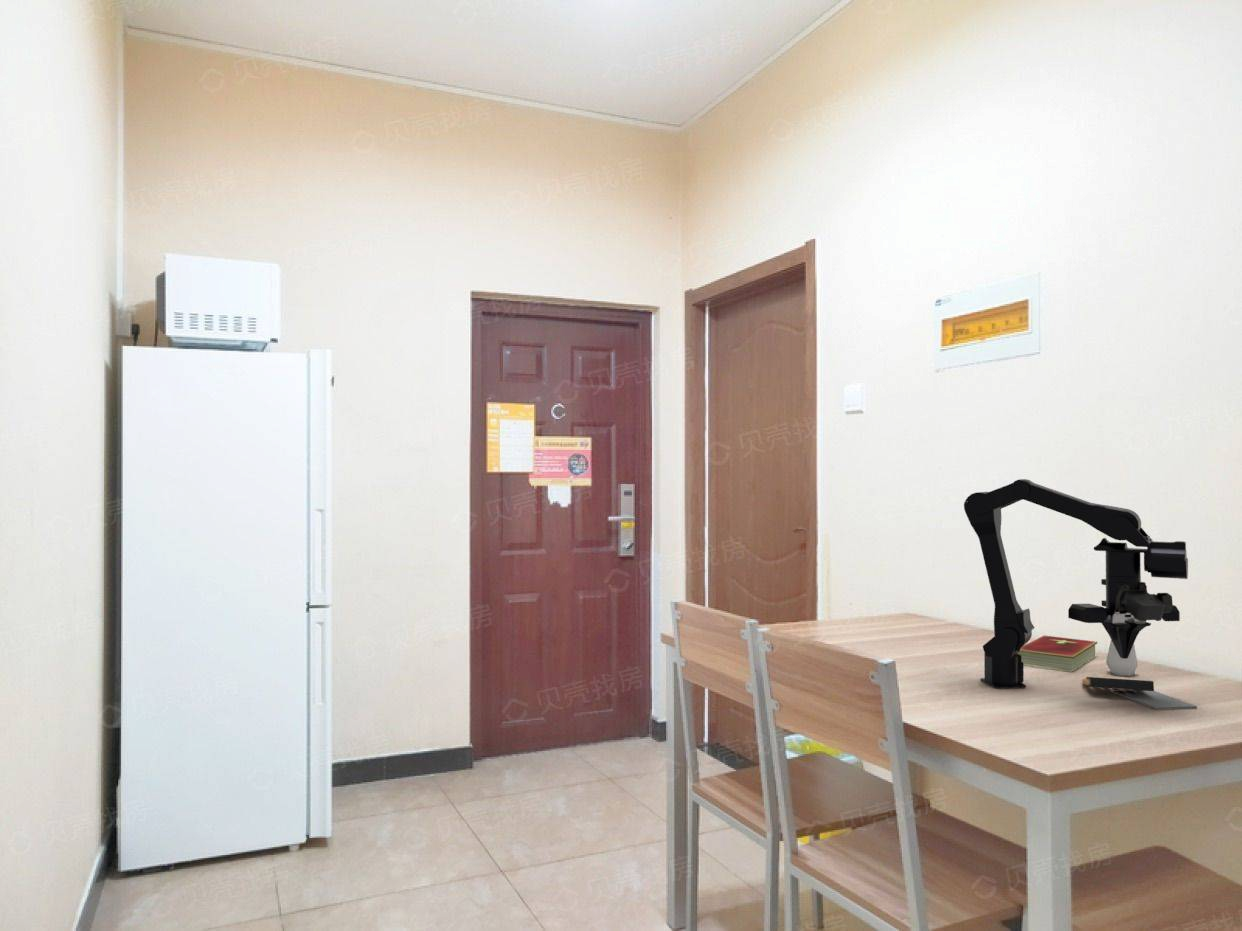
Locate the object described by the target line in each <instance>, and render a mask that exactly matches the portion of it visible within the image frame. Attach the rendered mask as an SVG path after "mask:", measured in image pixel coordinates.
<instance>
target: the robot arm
mask: <svg viewBox="0 0 1242 931" xmlns="http://www.w3.org/2000/svg"><path fill="white" fill-rule="evenodd" d="M1023 500H1024V501H1026V502H1030V503H1032V504H1035V505H1038V506H1040V507H1043V508H1046V509H1049V510H1051V511H1054V512H1057V513H1060V514H1063V515H1065V516H1069V517H1071V518H1074V519H1077V520H1080V521H1082V522H1084V523H1086V524H1087V525H1089V526H1090V527H1092V528H1093V529H1095V530H1097V531H1098V532H1101V533H1102V534H1104V535H1106V536H1107V537H1109V538H1112V539H1113V540H1116V541H1127V542H1128V543H1129V544H1132V545H1133V546H1135V548H1133V547H1128V544H1127V542H1116V541H1115V542H1114V541H1113V542H1112V541H1109V540H1108V539H1107V538H1106V537H1103V538H1102V539H1101V540H1100V542H1099V543H1098V544H1097V545H1096V546H1094V547H1093V550H1094V551H1097V552H1105V578H1101V580H1100V581H1101V582H1100V583H1101V584H1100V585H1103V586H1105V600H1101V605H1100V606H1099V605H1097V604H1092V603H1071V605H1070V606H1069V608H1068V615H1067V616H1068V617H1067V618H1068V619H1071V620H1074V621H1078V622H1081V623H1085V624H1101V625H1102V626H1103V628H1104V629H1105V631H1106V632H1107V635H1109V636H1108V637H1109V638H1110V641H1111V640H1112V642H1113V644H1114V646H1115V648H1116V650H1117V652H1118V654H1119V656H1120V658H1123V659H1127V658H1128V656H1129V654H1130V651H1131V649H1132V647H1133V644H1134V645H1135V642H1136V639H1137V636H1138V635H1139V634H1140V632H1141V631H1143V629H1145V628H1146V627H1150V626H1151V625H1152V623H1151V622H1147V621H1156V622H1160V621H1162V620H1163V621H1164V622H1180V621H1181V614H1180V610H1179V609H1178V607H1177V605H1174V604H1173V596H1172V595H1171V594H1170V593H1169V592H1157V593H1149V592H1148V587H1147V584H1146V582H1144V581H1142V580H1141V578H1142V577H1141V576H1142V575H1141V569H1142V568H1141V564H1142V563H1141V553H1142V554H1143V568H1144V569H1143V570H1144V572H1147V573H1150V576H1151V578H1162V579H1163V578H1165V579H1179V580H1182V579H1183V580H1188V577H1189V558H1188V557H1187V556H1188V554H1187V542H1186V541H1179V540H1177V541H1153V539H1152V538H1151V535H1148V533H1147V532H1146V531H1145V530H1144V529H1143V527H1142V520H1141V518H1140V516H1139V514H1137V513H1136V512H1135V511H1134V510H1132V509H1130V508H1123V507H1118V506H1113V505H1108V504H1107V505H1105V504H1100V503H1099V504H1098V503H1095V502H1089V501H1087V500H1084V499H1082V498H1078V497H1075V496H1072V495H1070V494H1067V493H1064V492H1061V491H1058V490H1056V489H1052V488H1050V487H1046V486H1044V485H1041V484H1038V483H1036V482H1033V481H1032V480H1030V479H1026V478H1022V479H1021V478H1020V479H1017V480H1014V481H1013V482H1012V483H1009V484H1007V485H1004V486H1001V487H998V488H996V489H993V490H990V491H978V492H973V493H971V494H970V495H969V496H967V497H966V499H965V501H964V502H963V510H964V512H965V514H966V517H967V519H968V521H969V524H970V526H971V527H972V529H973V531H974V532H975V534H976V535H977V538H978V540H979V544H980V549H981V552H982V556H983V557H982V558H983V560H984V565H985V570H986V575H987V578H988V582H989V585H990V586H989V587H990V590H991V595H992V598H993V599H992V600H993V603H994V613H993V630H994V632H993V634H994V636H993V637H992V638H991V639H989V640H988V641H987V642H986V643H985V644H984V645H982V650H983V651H984V654H983V656H984V660H983V661H984V677H981V678H980V682H983V683H984V684H987V685H988V686H991V687H993V688H995V689H1012V688H1014V689H1016V688H1017V689H1019V688H1027V684H1025V683H1024V679H1025V678H1024V676H1025V673H1024V671H1025V670H1024V667H1025V666H1024V663H1023V662H1021V655H1019V654H1017V652H1019V651H1020V649H1021V647H1022V646H1024V645H1026V644H1028V643H1029V642H1030V640H1031V639H1032V636H1033V635H1032V633H1033V632H1032V631H1033V630H1034V629H1035V626H1034V624H1033V623H1032V621H1031V620H1032V619H1031V611H1030V608H1026V609H1025V608H1024V609H1022V606H1020V604H1019V602H1018V600H1017V596H1016V591H1015V587H1014V585H1013V580H1012V579H1013V578H1012V576H1011V571H1010V568H1009V562H1008V559H1007V555H1006V552H1005V546H1004V543H1003V538H1002V535H1001V534H1002V533H1001V532H1002V531H1001V530H1002V509H1003V508H1007V507H1008V506H1011V505H1013V504H1016V503H1017V502H1019V501H1023Z"/></svg>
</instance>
